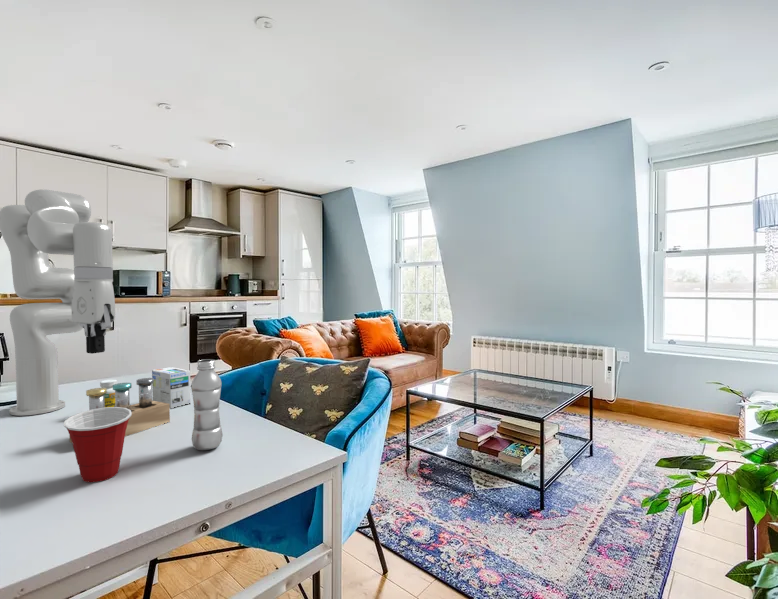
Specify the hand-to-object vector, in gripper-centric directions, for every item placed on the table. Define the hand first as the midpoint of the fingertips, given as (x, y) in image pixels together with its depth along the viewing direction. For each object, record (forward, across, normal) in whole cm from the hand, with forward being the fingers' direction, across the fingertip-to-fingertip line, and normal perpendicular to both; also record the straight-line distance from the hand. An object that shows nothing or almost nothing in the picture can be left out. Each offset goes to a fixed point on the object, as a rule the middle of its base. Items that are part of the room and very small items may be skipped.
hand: (95, 352), depth 99 cm
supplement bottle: (+21, -18, +13) cm, 31 cm away
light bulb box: (+21, -11, +28) cm, 37 cm away
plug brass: (+16, 0, 0) cm, 16 cm away
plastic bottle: (+21, +28, +8) cm, 36 cm away
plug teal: (+17, 0, +6) cm, 18 cm away
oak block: (+21, 0, +6) cm, 22 cm away
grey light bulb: (+16, 0, +12) cm, 20 cm away
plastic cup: (+21, +21, -11) cm, 32 cm away
